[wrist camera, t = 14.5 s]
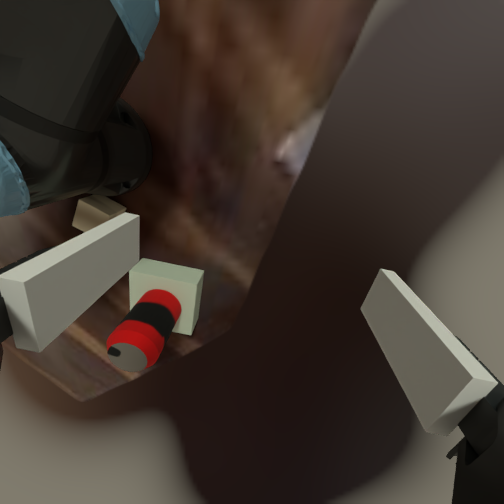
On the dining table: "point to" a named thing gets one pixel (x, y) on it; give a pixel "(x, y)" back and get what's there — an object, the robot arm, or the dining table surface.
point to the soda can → (144, 331)
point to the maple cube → (95, 212)
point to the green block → (169, 288)
